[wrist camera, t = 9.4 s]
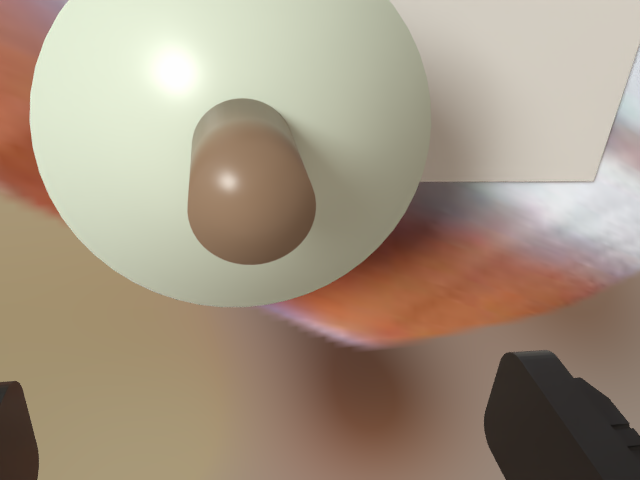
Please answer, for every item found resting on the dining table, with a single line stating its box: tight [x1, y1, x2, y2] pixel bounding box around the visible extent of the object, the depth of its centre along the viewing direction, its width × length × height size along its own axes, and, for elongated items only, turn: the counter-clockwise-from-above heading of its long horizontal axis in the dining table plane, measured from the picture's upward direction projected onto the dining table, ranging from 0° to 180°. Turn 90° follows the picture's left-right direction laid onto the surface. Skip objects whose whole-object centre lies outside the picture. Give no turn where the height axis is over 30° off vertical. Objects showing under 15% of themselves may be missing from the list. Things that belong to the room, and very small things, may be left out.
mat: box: [389, 0, 640, 182], centre depth 31 cm, size 16×16×1 cm
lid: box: [30, 0, 431, 307], centre depth 18 cm, size 14×14×6 cm
